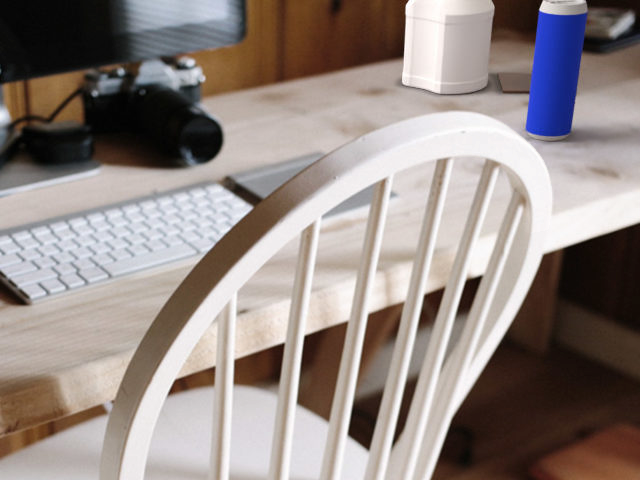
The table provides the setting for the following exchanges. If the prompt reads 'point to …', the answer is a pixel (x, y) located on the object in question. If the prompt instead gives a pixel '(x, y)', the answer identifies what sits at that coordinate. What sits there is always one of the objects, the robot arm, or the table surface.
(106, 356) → the table surface
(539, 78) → the beverage can
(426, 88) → the jar
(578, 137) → the table surface
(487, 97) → the table surface
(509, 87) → the coaster
